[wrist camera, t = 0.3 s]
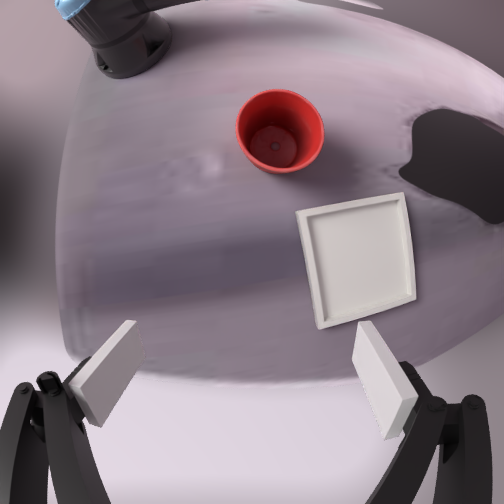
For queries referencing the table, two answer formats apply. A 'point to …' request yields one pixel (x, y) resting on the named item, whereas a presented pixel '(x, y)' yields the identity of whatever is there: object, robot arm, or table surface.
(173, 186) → the table surface
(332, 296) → the drip tray
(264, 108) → the flower pot
